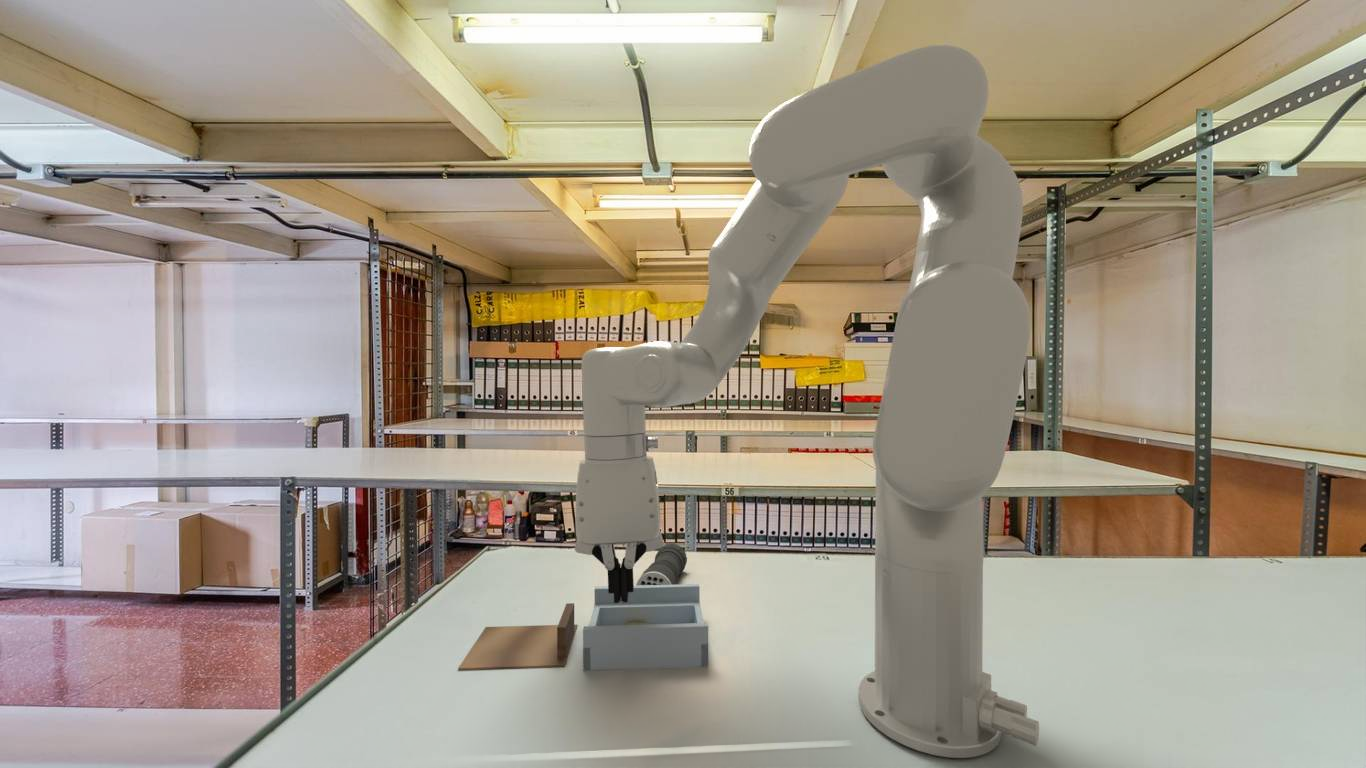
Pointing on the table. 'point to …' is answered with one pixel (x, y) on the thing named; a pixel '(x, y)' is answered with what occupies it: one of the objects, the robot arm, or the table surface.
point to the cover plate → (523, 645)
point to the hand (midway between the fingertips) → (621, 597)
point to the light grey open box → (646, 629)
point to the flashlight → (665, 566)
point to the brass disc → (636, 623)
